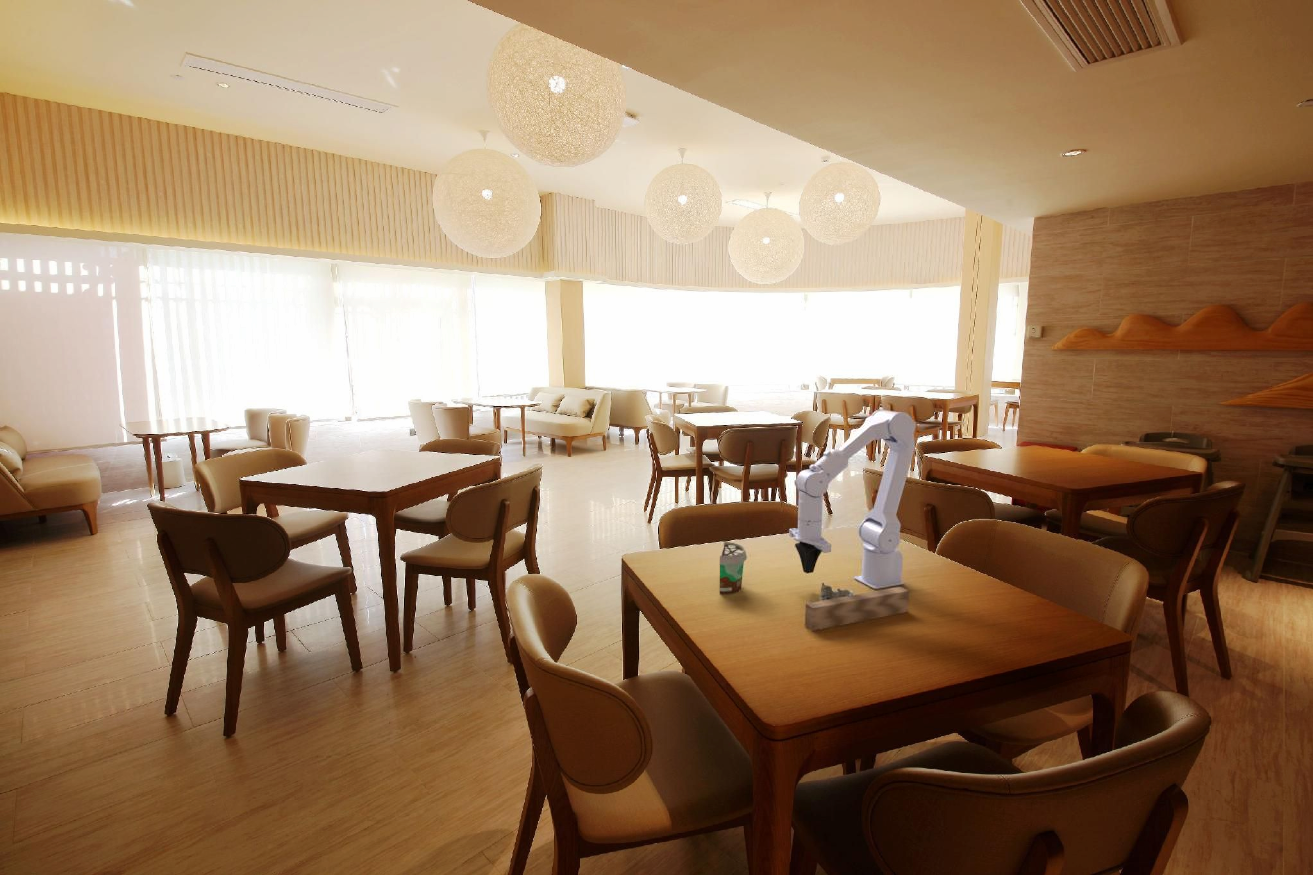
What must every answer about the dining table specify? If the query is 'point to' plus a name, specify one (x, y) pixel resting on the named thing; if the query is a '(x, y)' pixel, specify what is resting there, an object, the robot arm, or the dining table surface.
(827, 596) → the egg carton
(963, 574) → the dining table surface
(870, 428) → the robot arm
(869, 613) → the walnut board
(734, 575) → the food container
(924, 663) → the dining table surface
